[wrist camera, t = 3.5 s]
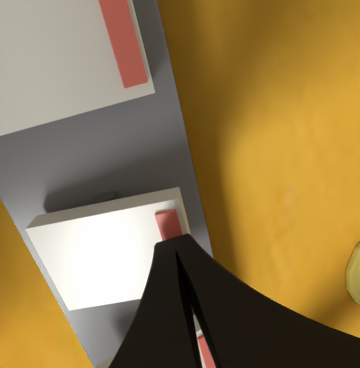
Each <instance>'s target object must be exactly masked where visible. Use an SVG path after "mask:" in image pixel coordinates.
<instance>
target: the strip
mask: <svg viewBox="0 0 360 368" xmlns="http://www.w3.org/2000/svg"><path fill="white" fill-rule="evenodd" d="M132 2H133V6H134V10H135V14H136V18H137V22H138V26H139V30H140V34H141V38H142V42H143V46H144V50H145V54H146V58H147V62H148V66H149V70H150V74H151V78H152V82H153V86H154V90H155V93H153V94H149V95H146V96H142V97H139V98H135V99H131V100H128V101H124V102H121V103H117V104H113V105H110V106H106V107H103V108H99V109H95V110H92V111H88V112H85V113H81V114H77V115H74V116H70V117H66V118H63V119H59V120H56V121H52V122H48V123H45V124H41V125H38V126H34V127H30V128H27V129H23V130H20V131H16V132H12V133H9V134H5V135H2V136H0V199H1V200H2V202H3V204H4V206H5V208H6V209H7V211H8V213H9V215H10V217H11V218H12V220H13V222H14V224H15V226H16V227H17V229H18V231H19V233H20V235H21V237H22V238H23V240H24V242H25V244H26V246H27V247H28V249H29V251H30V253H31V255H32V256H33V258H34V260H35V262H36V264H37V265H38V267H39V269H40V271H41V273H42V274H43V276H44V278H45V280H46V282H47V284H48V285H49V287H50V289H51V291H52V293H53V294H54V296H55V298H56V300H57V302H58V303H59V305H60V307H61V309H62V311H63V312H64V314H65V316H66V318H67V320H68V321H69V323H70V325H71V327H72V329H73V331H74V332H75V334H76V336H77V338H78V340H79V341H80V343H81V345H82V347H83V349H84V350H85V352H86V354H87V356H88V358H89V359H90V361H91V363H92V365H93V367H94V368H97V367H96V365H97V364H99V363H101V362H103V361H105V360H107V359H109V358H111V357H113V356H115V355H116V353H117V351H118V349H119V347H120V345H121V343H122V341H123V339H124V337H125V336H126V333H127V331H128V329H129V327H130V325H131V323H132V320H133V318H134V316H135V313H136V311H137V308H138V306H139V303H140V300H141V299H136V300H130V301H124V302H118V303H112V304H106V305H100V306H94V307H88V308H82V309H76V310H70V311H69V310H68V308H67V306H66V304H65V302H64V301H63V299H62V297H61V295H60V293H59V291H58V289H57V288H56V286H55V284H54V282H53V280H52V278H51V277H50V275H49V273H48V271H47V269H46V267H45V265H44V264H43V262H42V260H41V258H40V256H39V254H38V252H37V251H36V249H35V247H34V245H33V243H32V241H31V239H30V238H29V236H28V234H27V232H26V230H25V228H26V227H27V226H28V225H29V224H30V223H31V222H32V221H33V220H34V218H35V217H36V216H37V215H42V214H47V213H52V212H57V211H62V210H67V209H72V208H76V207H81V206H86V205H91V204H96V203H101V202H106V201H111V200H116V199H121V198H126V197H131V196H136V195H141V194H146V193H151V192H156V191H161V190H166V189H171V188H176V187H179V188H180V192H181V196H182V200H183V204H184V208H185V212H186V216H187V220H188V224H189V228H190V232H191V235H192V237H193V238H194V239H195V241H196V242H197V243H198V244H199V245H200V246H201V247H202V248H203V249H204V250H205V251H206V252H207V253H208V254H209V255H210V256H211V257H212V258H213V253H212V249H211V244H210V239H209V235H208V230H207V226H206V221H205V217H204V212H203V207H202V203H201V198H200V194H199V189H198V185H197V180H196V175H195V171H194V166H193V162H192V157H191V153H190V148H189V143H188V139H187V134H186V130H185V125H184V121H183V116H182V111H181V107H180V102H179V98H178V93H177V88H176V84H175V79H174V75H173V70H172V66H171V61H170V56H169V52H168V47H167V43H166V38H165V34H164V29H163V24H162V20H161V15H160V11H159V6H158V2H157V0H132ZM213 259H214V258H213ZM191 307H192V306H191ZM192 312H193V315H195V313H194V311H193V308H192Z"/></svg>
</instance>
